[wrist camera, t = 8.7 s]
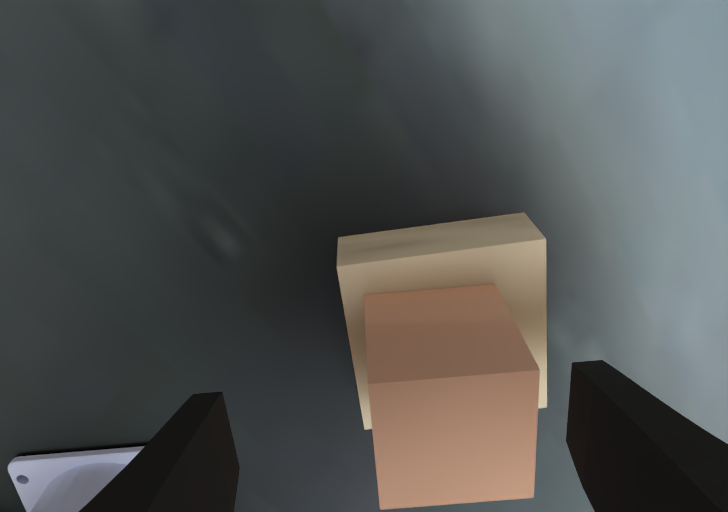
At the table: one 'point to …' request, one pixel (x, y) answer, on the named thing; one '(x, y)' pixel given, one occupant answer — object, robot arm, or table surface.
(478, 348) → the terracotta block
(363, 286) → the maple slab
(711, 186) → the table surface
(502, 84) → the table surface
